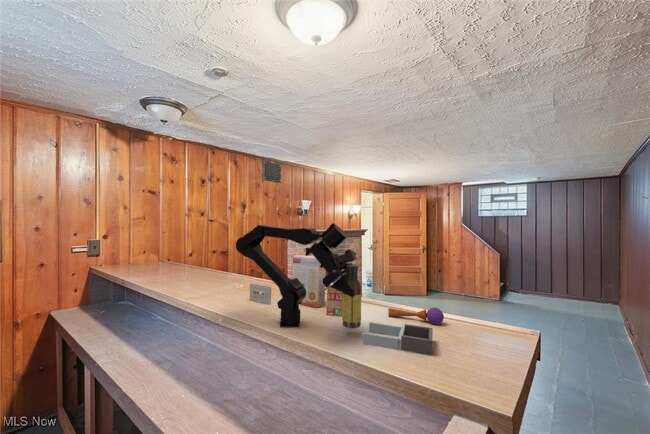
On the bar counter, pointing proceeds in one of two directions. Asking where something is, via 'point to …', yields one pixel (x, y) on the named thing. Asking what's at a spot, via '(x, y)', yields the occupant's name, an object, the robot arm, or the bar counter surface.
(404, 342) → the grey compartment tray
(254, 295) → the cassette
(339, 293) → the printed food box
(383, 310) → the bar counter surface
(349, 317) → the sauce bottle
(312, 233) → the robot arm
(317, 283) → the cracker box
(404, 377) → the bar counter surface
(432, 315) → the kendama
